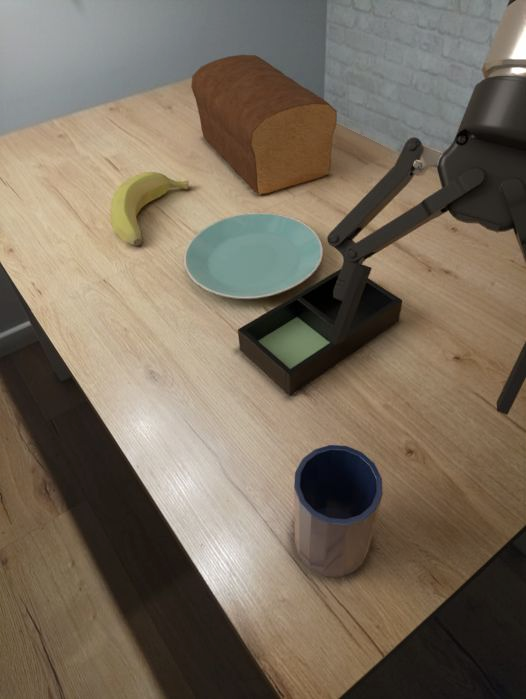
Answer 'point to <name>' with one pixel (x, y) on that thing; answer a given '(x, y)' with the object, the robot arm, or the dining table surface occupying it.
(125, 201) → the banana
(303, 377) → the tray
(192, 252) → the plate
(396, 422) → the dining table surface
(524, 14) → the robot arm
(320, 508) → the cup
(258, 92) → the bread
